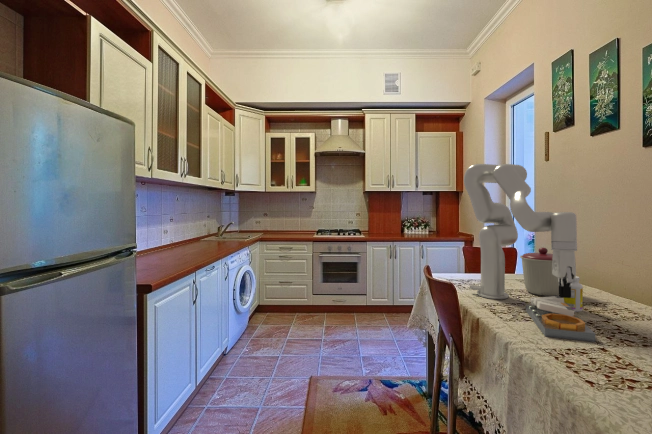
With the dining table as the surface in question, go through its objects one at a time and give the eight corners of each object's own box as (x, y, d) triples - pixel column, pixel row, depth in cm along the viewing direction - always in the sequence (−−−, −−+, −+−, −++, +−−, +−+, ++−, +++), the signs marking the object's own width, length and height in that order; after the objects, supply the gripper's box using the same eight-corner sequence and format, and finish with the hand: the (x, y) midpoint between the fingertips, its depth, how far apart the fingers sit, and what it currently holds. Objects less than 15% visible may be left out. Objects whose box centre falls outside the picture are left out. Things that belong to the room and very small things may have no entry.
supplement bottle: (575, 307, 129) (575, 274, 129) (586, 312, 123) (587, 278, 122) (557, 306, 130) (557, 274, 130) (567, 312, 123) (568, 278, 123)
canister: (573, 300, 139) (574, 250, 138) (524, 296, 145) (524, 249, 144) (559, 290, 156) (560, 246, 155) (516, 287, 162) (516, 244, 161)
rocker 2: (535, 304, 117) (536, 298, 116) (533, 302, 119) (534, 296, 119) (568, 312, 113) (569, 306, 113) (565, 309, 116) (566, 303, 116)
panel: (545, 336, 100) (545, 323, 100) (526, 311, 125) (526, 300, 125) (595, 342, 96) (595, 328, 96) (565, 314, 120) (565, 303, 120)
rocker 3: (538, 308, 112) (540, 302, 112) (536, 306, 115) (537, 300, 115) (573, 316, 109) (574, 310, 108) (570, 313, 111) (571, 307, 111)
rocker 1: (532, 305, 121) (531, 299, 121) (530, 303, 124) (529, 297, 124) (564, 303, 118) (563, 297, 118) (561, 301, 121) (560, 295, 121)
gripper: (545, 244, 127) (546, 291, 127) (558, 248, 113) (559, 301, 113) (568, 244, 124) (569, 293, 124) (584, 248, 110) (585, 303, 110)
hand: (564, 296), depth 118 cm, fingers closed
